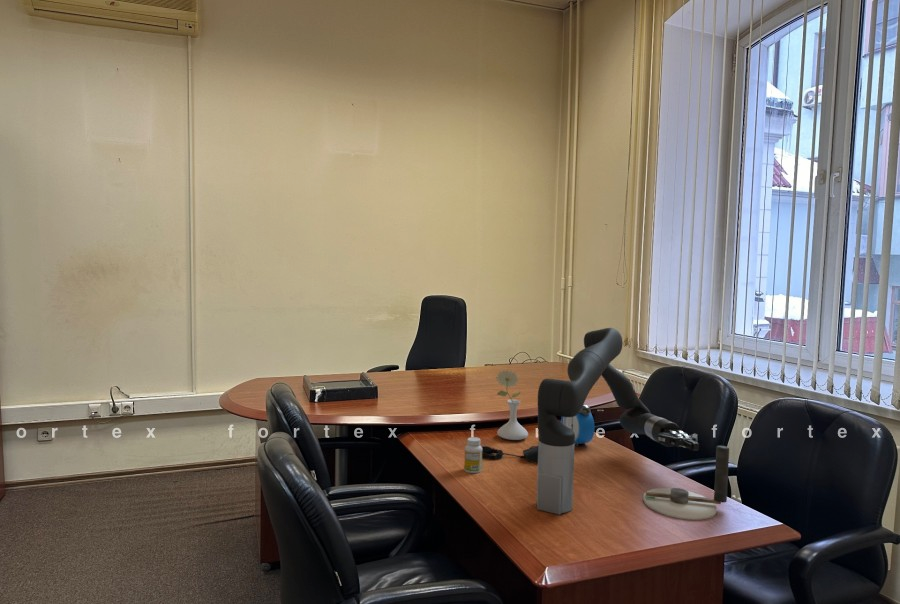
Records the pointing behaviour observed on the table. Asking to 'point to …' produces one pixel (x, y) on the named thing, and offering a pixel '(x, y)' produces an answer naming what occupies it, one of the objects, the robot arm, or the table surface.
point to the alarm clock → (581, 425)
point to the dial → (719, 489)
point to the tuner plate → (680, 506)
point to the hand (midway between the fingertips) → (696, 447)
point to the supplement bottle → (473, 456)
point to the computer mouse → (529, 454)
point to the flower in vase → (512, 427)
